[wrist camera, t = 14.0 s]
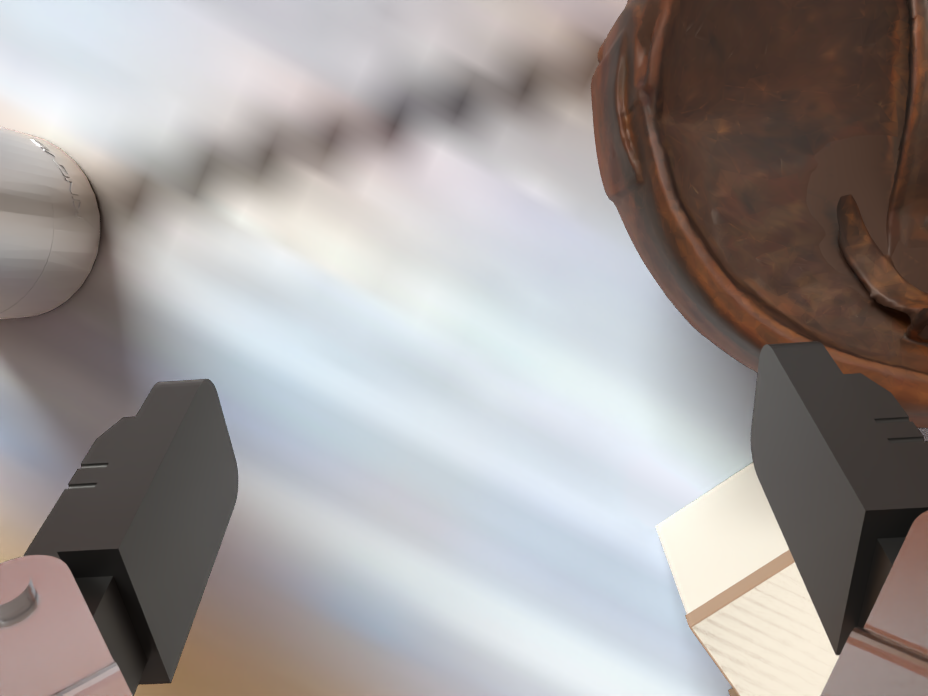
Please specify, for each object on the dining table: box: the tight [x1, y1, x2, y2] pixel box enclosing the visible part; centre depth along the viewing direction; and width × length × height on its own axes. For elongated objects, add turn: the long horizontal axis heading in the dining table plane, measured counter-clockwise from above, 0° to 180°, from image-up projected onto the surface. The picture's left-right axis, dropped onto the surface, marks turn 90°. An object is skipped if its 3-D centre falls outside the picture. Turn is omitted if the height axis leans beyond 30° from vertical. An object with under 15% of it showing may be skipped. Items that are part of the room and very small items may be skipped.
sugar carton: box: [655, 462, 840, 696], centre depth 34 cm, size 6×6×12 cm
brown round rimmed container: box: [591, 0, 928, 428], centre depth 30 cm, size 18×20×18 cm
